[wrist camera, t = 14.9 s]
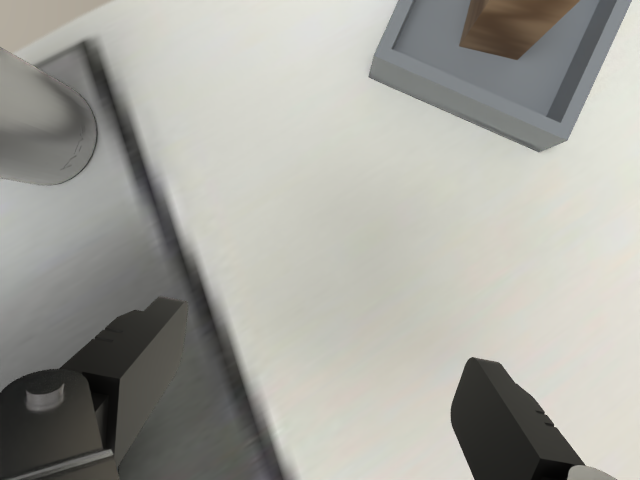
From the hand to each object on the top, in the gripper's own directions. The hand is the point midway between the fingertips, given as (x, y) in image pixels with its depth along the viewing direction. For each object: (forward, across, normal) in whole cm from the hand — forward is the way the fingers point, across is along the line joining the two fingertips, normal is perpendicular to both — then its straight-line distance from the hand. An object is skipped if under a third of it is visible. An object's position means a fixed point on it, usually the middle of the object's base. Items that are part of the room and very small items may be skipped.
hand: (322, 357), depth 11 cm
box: (+28, -11, -17) cm, 34 cm away
